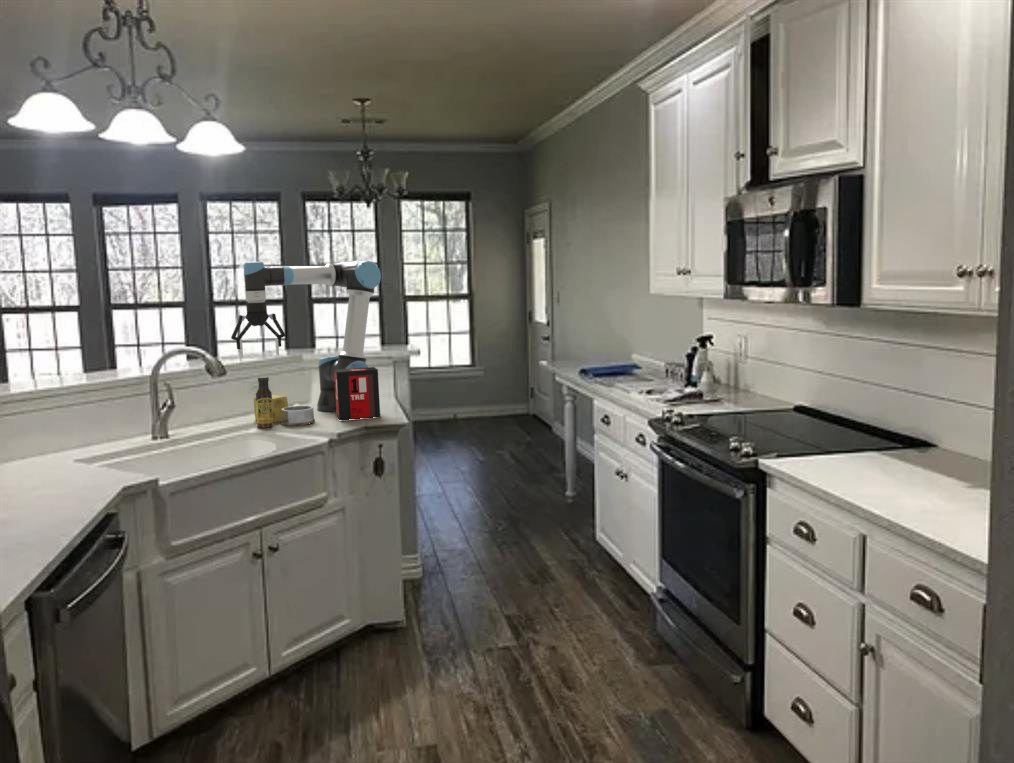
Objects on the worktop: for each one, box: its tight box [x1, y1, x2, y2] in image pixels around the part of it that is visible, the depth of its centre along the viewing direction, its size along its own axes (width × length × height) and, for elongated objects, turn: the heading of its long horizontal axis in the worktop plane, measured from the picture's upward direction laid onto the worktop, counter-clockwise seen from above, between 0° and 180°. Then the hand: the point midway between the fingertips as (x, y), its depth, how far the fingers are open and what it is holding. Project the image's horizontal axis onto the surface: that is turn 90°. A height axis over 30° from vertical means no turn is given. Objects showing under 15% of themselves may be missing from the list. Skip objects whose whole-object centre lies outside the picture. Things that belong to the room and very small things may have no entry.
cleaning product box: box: [334, 366, 381, 421], centre depth 351 cm, size 16×9×20 cm, turn 108°
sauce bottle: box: [255, 376, 274, 429], centre depth 338 cm, size 7×6×20 cm
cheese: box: [253, 394, 289, 423], centre depth 353 cm, size 10×11×10 cm
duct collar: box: [281, 405, 315, 423], centre depth 345 cm, size 12×12×5 cm
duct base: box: [281, 418, 316, 427], centre depth 345 cm, size 13×13×1 cm
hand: (259, 356), depth 335 cm, fingers open, 13 cm apart
